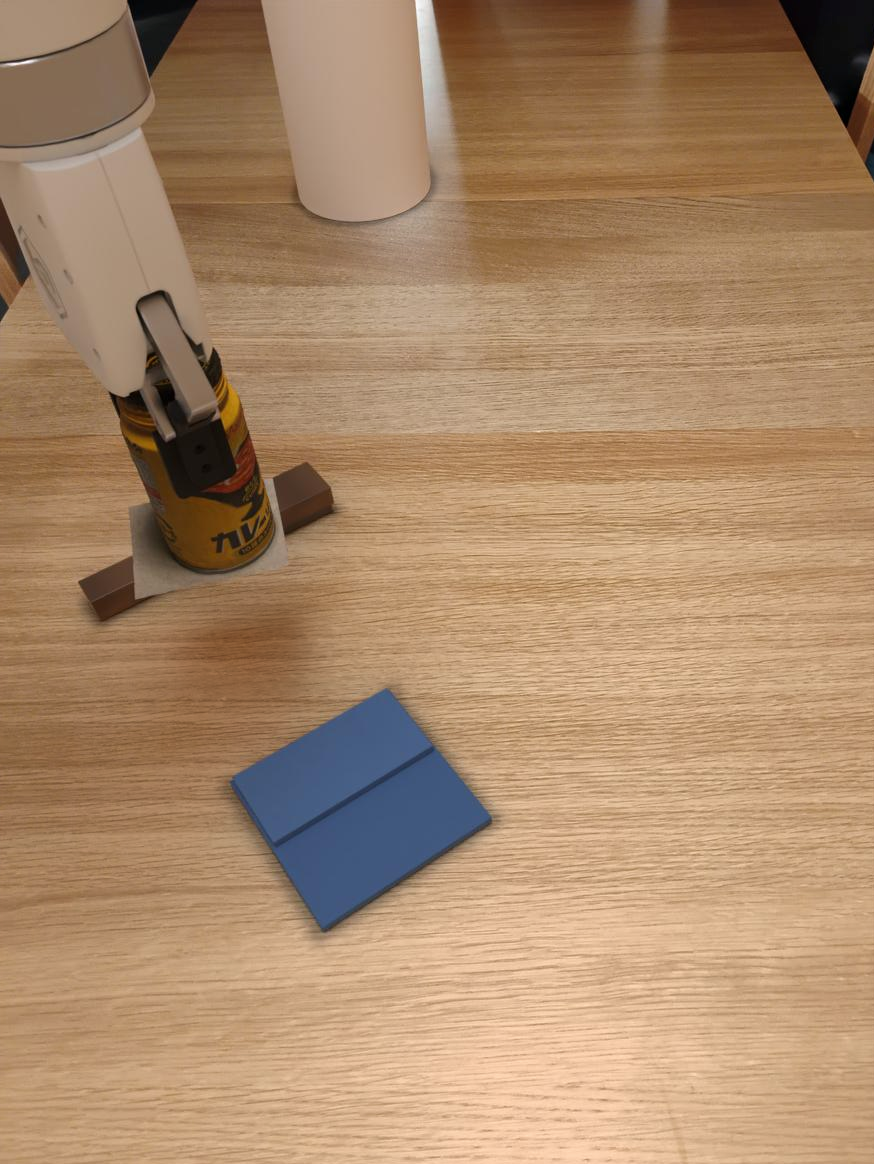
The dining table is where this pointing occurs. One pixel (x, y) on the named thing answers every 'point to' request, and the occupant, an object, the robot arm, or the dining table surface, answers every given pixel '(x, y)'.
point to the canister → (351, 104)
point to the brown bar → (298, 505)
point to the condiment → (200, 503)
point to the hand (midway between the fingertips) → (177, 445)
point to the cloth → (358, 806)
